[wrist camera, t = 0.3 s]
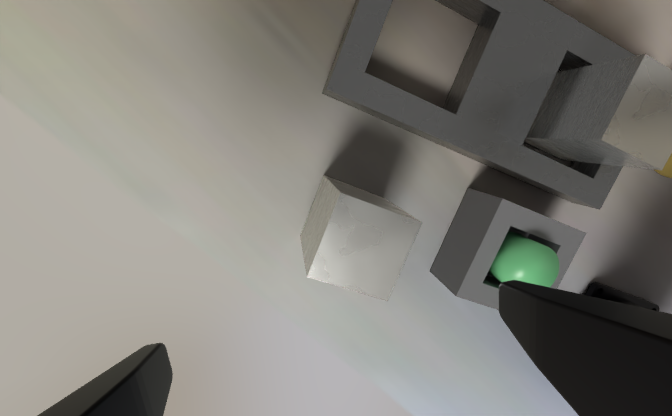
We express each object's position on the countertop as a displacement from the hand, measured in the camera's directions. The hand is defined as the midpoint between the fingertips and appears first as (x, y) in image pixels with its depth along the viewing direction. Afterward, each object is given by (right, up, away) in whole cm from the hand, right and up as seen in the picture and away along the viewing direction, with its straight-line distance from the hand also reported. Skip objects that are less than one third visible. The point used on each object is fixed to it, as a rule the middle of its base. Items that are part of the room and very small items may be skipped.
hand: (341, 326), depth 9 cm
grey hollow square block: (+10, +1, +14) cm, 17 cm away
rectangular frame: (+9, +10, +11) cm, 18 cm away
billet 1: (0, +3, +12) cm, 12 cm away
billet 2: (+14, +9, +12) cm, 20 cm away
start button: (+10, 0, +12) cm, 16 cm away
